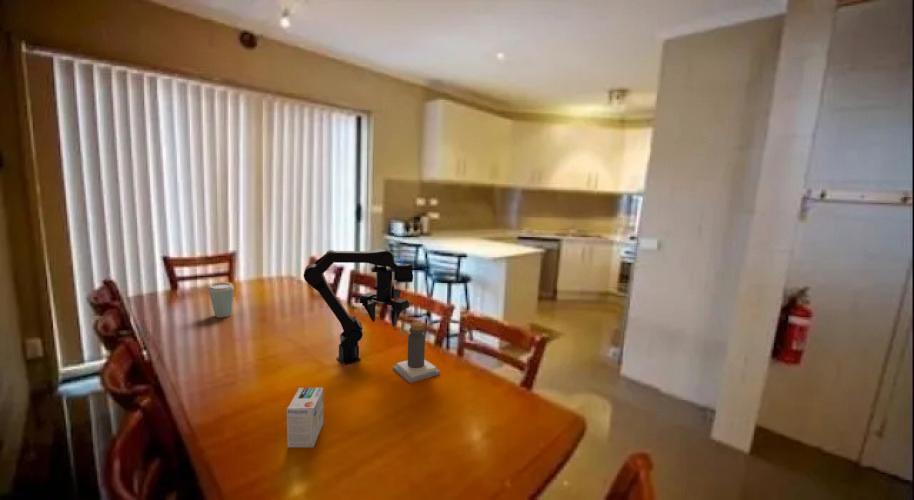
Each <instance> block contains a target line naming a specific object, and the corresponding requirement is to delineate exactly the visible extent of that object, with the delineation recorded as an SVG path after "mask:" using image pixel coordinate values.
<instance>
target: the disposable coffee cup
mask: <svg viewBox="0 0 914 500" xmlns="http://www.w3.org/2000/svg"><path fill="white" fill-rule="evenodd" d="M234 289H235V287H234V285H233V284H232V283H231V282H227V281H219V282H217V281H216V282H213V283H211V284H209V285H208V287H207V291H208V294H209V297H210V303H211V305H212V309H213V312H214V315H215V317H216V318H227V317H230V316H231V315H232V311H233V301H234Z"/></svg>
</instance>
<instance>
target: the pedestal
mask: <svg viewBox="0 0 914 500" xmlns="http://www.w3.org/2000/svg"><path fill="white" fill-rule="evenodd" d="M392 370H393V371H394V372H396V374H398V375H399V376H401V378H403V379H404V380H405V381H407V382H408V383H410V384H412V383H415V382H418V381H422V380H426V379H428V378H433V377H436V376H439V375H440V374H441V371H440V369H438V368H437V366H436V365H434V364H433V363H430V361H428V360H426V358H424V366H423V367H420V368H411V367H409V366H408V359H407V360H404V361H400V362H396V364H395V365H393V366H392Z"/></svg>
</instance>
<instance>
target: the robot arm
mask: <svg viewBox="0 0 914 500" xmlns="http://www.w3.org/2000/svg"><path fill="white" fill-rule="evenodd" d="M334 263H337V264H339V263H341V264H342V263H345V264H353V263H354V264H357V263H358V264H371V265H373V266H372V267H371V269H370V270H371V273H375V275H376V277H375V280H376V284H375V285H374V287H373V289H374V290H375V293H371V292H367V293H364V294H362V295H360V297H359V301H358V302H359V304H361V306H362V307H363V308H364V309H365V311H366V312H367V315H368V317H370V320H371V322H372V323H374V322H376V306H377V304H381V305H385V306H386V305H388V306H391V310H390V313H391V314H390V315H391V323H392V327H395V326H396V325H397V323H398V320H399V318H400V315H401V313H402V312H403V311H405V310H407V309H408V308H409V307H410V302H409V300H408V299H402V298H401V294H402V290H400V289H395V285H394V284H393V281H395V282H396V283H397V284H405V283H413V281H414V274H413V265H412V264H411V263H406V264H397V262H396V261H394V255H393V253H392V252H391V251H390V250H389V249H388V248H385V247H384V248H376V249H372V250H367V251H362V250H361V251H360V250H359V251H358V250H355V251H354V250H353V251H352V250H334V249H330V250H328V251H326V252H325V254H323V255H322V256H320V258H318V259H317V260H316V261H315V262H314V263H310V264H307V266H306V267H305V268H304V273H303V279H304V281H305V282H306V283H308V285H309V286H310V287H311V288H313V289H314V290H315V291H317V292H318V293H319V295H320V296H321V298H322V299H323V300H324V302H325V303H326V304H327V306H328V307H329V309H330V310H331V311H332V313H333V315H334V316H335V317H336V319H337V320H338V321H339V323H340V325H341V329H342V330H343V331H342V332H341V333H340V334H339V340H340V343H339V344H338V356H337V357H336V360H338V361H340V363H342V364H343V365H349V364H351V363H354V362H358V361H360V360H361V357H359V356H360V346H359V342H360V340H362V338H363V335H364V334H363V325H362V322H361V321H360V320H359V319H358V316H357V315H354V316H353V317H352V316H351V315H350V314H349V313H348V311H347V310H346V308H345V307H344V306H343V304H342V302H341V301H340V300H339V298H338V297H337V295H336V294H335V292H334V291H333V290H332V289H331V287H330V286H329V284H328V281H327V279H326V276H325V274H324V273H325V272H326V271H327V270H329V268H330V267H331V266H332V265H333V264H334ZM387 267H388V268H387ZM395 299H396V300H395Z"/></svg>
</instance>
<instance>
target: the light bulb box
mask: <svg viewBox="0 0 914 500" xmlns="http://www.w3.org/2000/svg"><path fill="white" fill-rule="evenodd" d="M323 425H324V387H298V388H297V390H296V393H295V394H294V397H293V398H292V399H291V401H290V403H289V405H288V406H287V408H286V430H287V431H286V434H287V435H286V438H287V448H314V447H315V444H316V443H317V439H318V437H319V435H320V433H321V431H322V428H323Z"/></svg>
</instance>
